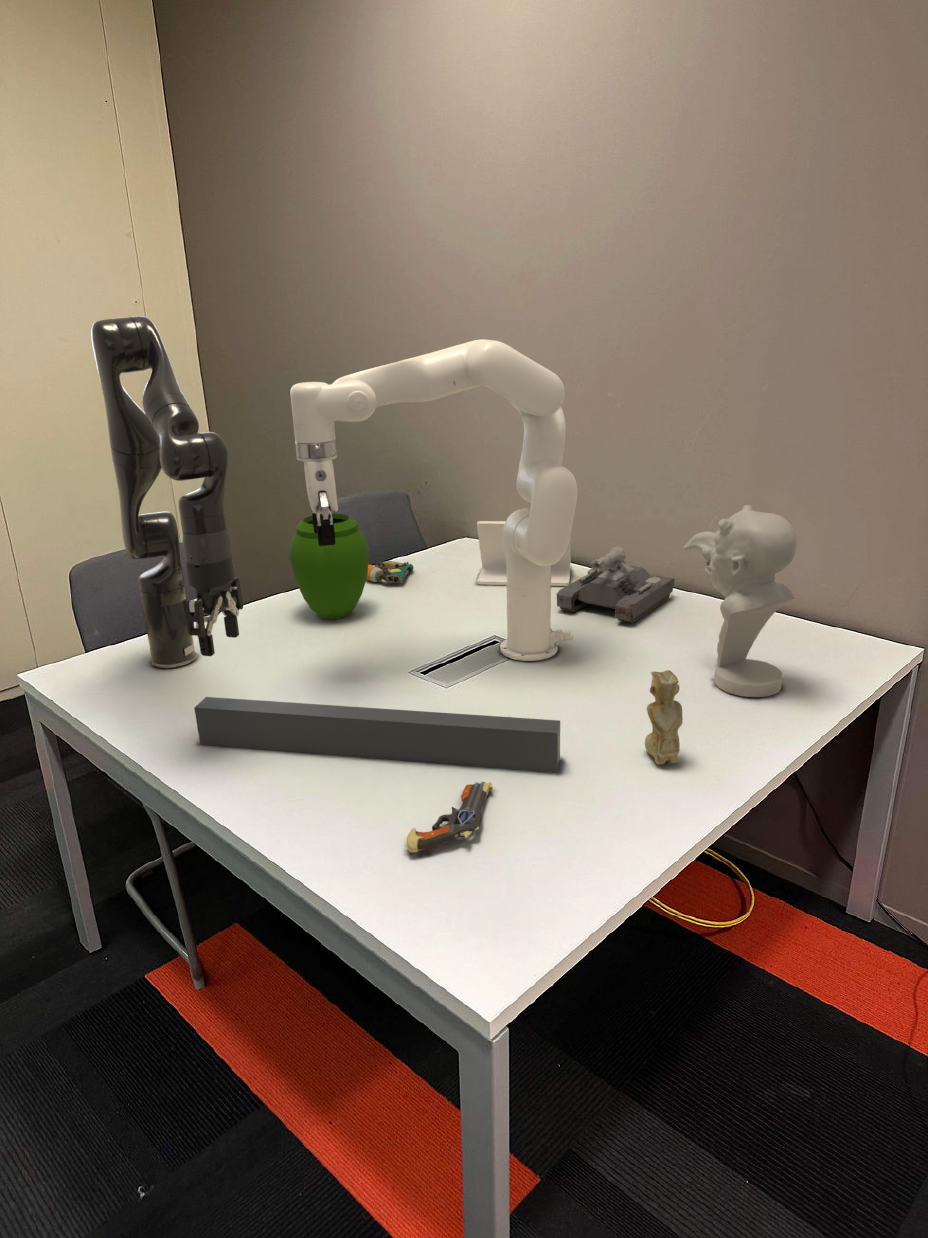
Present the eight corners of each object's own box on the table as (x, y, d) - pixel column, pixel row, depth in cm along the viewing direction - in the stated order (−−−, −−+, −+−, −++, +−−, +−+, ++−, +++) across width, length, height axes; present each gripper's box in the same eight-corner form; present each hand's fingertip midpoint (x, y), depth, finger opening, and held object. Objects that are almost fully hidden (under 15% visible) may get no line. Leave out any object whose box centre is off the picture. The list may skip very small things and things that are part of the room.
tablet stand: (569, 585, 229) (570, 524, 223) (476, 584, 232) (475, 523, 226) (570, 566, 246) (571, 508, 240) (484, 564, 249) (483, 507, 243)
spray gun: (382, 568, 251) (427, 575, 245) (352, 581, 237) (399, 589, 231) (382, 554, 250) (427, 560, 244) (351, 566, 235) (399, 574, 230)
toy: (603, 584, 229) (605, 530, 224) (673, 597, 218) (677, 540, 213) (555, 612, 210) (556, 553, 205) (630, 627, 199) (633, 566, 194)
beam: (559, 759, 144) (560, 720, 142) (557, 772, 140) (557, 733, 138) (211, 732, 157) (206, 696, 154) (199, 744, 153) (194, 707, 150)
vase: (389, 608, 216) (383, 514, 208) (339, 633, 201) (330, 533, 192) (330, 596, 226) (322, 506, 218) (278, 619, 211) (267, 523, 202)
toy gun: (402, 841, 119) (471, 840, 117) (431, 778, 137) (492, 776, 135) (405, 858, 120) (474, 857, 118) (434, 793, 138) (494, 791, 136)
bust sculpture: (716, 647, 187) (729, 489, 174) (804, 687, 167) (826, 512, 154) (658, 663, 180) (668, 499, 167) (743, 707, 160) (761, 525, 147)
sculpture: (673, 746, 147) (678, 666, 142) (685, 767, 140) (691, 684, 135) (639, 747, 147) (643, 667, 141) (650, 769, 140) (654, 686, 135)
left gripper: (209, 543, 149) (221, 630, 155) (164, 566, 136) (179, 660, 142) (248, 545, 147) (259, 632, 153) (206, 568, 134) (219, 663, 140)
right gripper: (341, 456, 153) (349, 548, 159) (331, 442, 169) (338, 526, 175) (299, 459, 151) (308, 552, 158) (293, 444, 167) (301, 529, 173)
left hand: (220, 645), depth 147 cm, fingers open, 8 cm apart
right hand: (324, 538), depth 166 cm, fingers open, 9 cm apart
